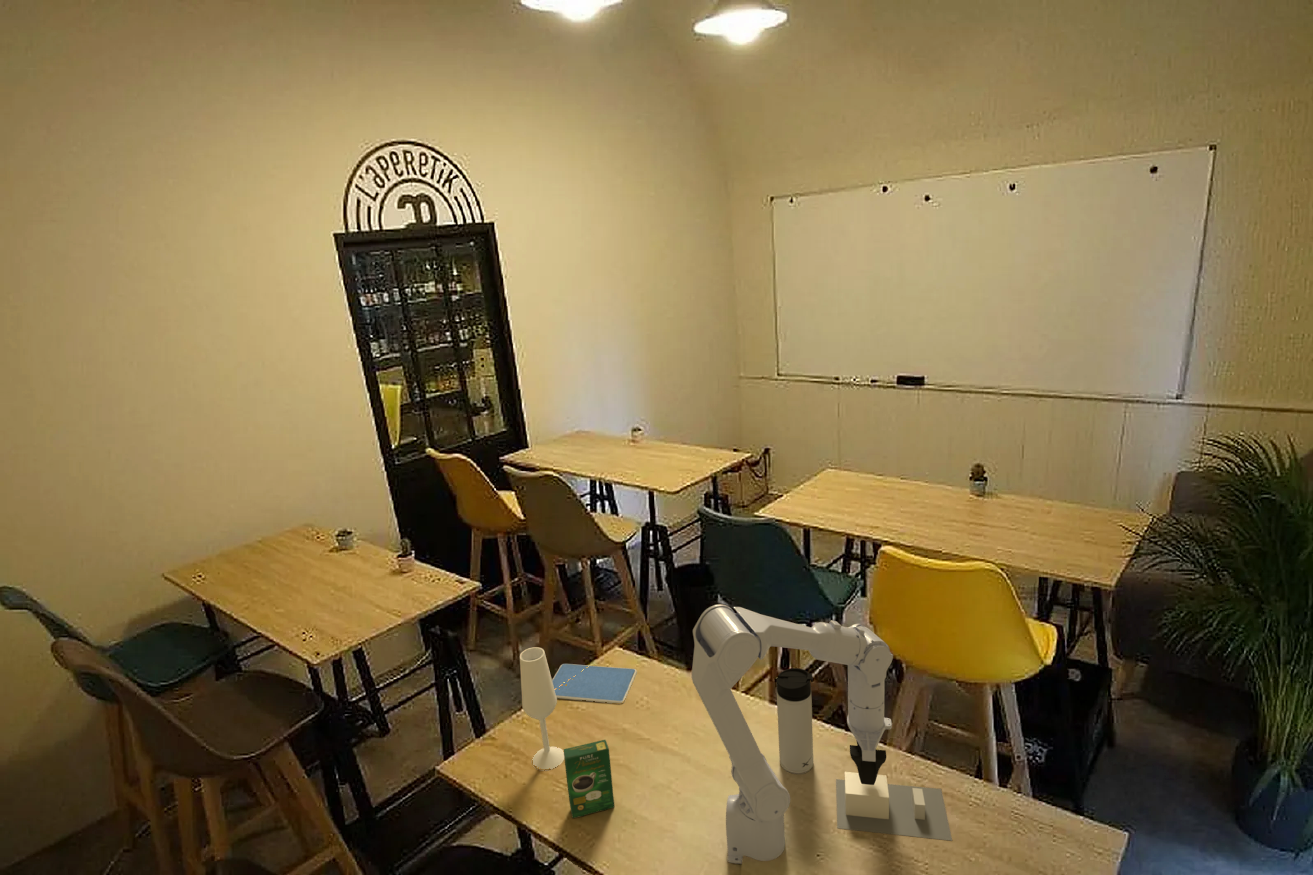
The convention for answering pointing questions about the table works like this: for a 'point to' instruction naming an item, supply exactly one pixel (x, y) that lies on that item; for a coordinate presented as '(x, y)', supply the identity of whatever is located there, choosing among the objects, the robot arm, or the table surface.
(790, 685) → the travel mug
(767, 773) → the robot arm
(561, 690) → the tablet computer
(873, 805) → the cream rectangular block
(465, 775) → the table surface
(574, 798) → the coffee box
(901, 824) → the board
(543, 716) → the champagne flute
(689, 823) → the table surface
